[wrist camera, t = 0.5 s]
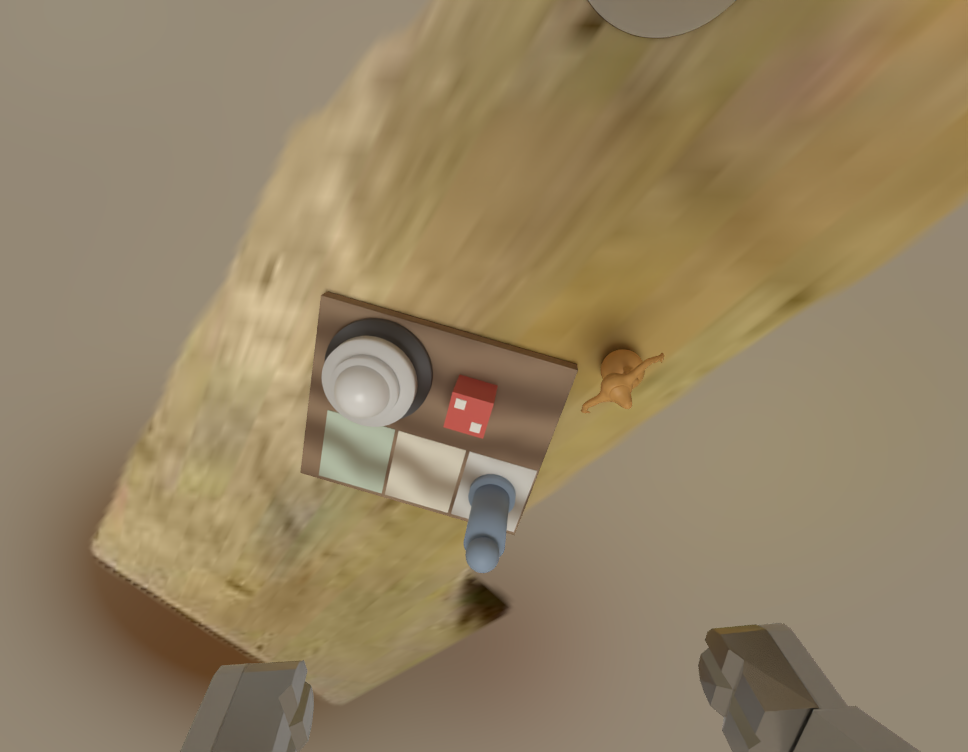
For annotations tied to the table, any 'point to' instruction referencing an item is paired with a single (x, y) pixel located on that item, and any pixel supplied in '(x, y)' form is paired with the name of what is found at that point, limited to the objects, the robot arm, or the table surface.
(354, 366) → the dome
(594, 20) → the table surface
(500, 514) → the pawn
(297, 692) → the robot arm
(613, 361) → the figurine
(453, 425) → the red die
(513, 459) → the game board
